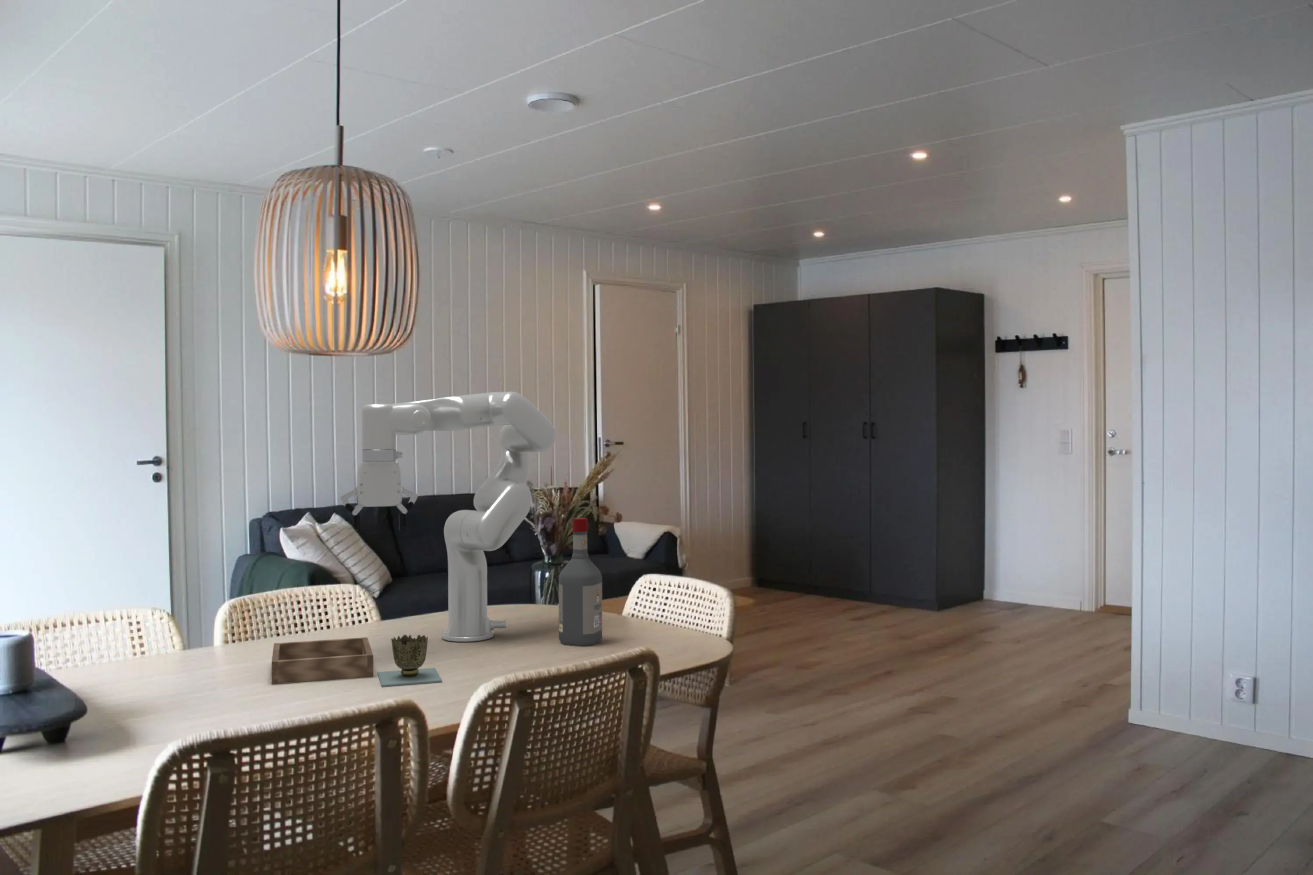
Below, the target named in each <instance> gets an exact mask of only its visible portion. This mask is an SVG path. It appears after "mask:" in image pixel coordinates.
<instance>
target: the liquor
mask: <svg viewBox="0 0 1313 875" xmlns="http://www.w3.org/2000/svg"><path fill="white" fill-rule="evenodd" d="M588 522H589V519H588V518H586V517H577V518H576V517H575V518H572V533H573V534H572V536H573V537H572V538H573V540H572V543H573V544H572V547H573V549H572V555H571V559H570V560H569V561H568V562H567V564H566V565H565V566H564V567H563V569H562V570H561V571H560V572H559V576H558V640H559V642H560V643H561V645H562V644H563V645H564V646H576V647H587V646H594V645H596V644H599V643H600V642H601V641H602V639H603V575H602V572H601V570H600V569H599V568H598V567H597V566H596V565H595V563H594V562H593V561H592V560H591V558H589V557H590V556H589V553H588V531H589V530H588V529H589V528H588V527H589V525H588V524H589V523H588ZM599 641H600V642H599Z"/></svg>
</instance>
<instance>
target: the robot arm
mask: <svg viewBox="0 0 1313 875" xmlns="http://www.w3.org/2000/svg"><path fill="white" fill-rule="evenodd" d="M495 426H502V427H501V429H500V432H499V441H500V442H499V443H500V448H501V458H500V460H499V463H497V466H496V467H495V468H494V470H493V471H492V472H491V474H489V476H487V478H486V479H485V480H484V481H483V483H482V484H481V485H480V487H478V489H477V491H476V492H475V494H474V496H473V507H474V508H475V510H474V509H473V510H472V509H471V510H470V509H461V510H457V511H455V512H452V513H451V514H450V515H449V516H448V518H447V519H446V521H445V524H444V527H443V536H444V541H445V547H446V552H447V572H448V573H447V574H448V576H447V577H448V578H447V580H448V581H447V583H448V584H447V585H448V586H447V589H448V594H447V597H448V598H447V599H448V600H447V601H448V602H447V603H448V604H447V605H448V607H447V608H448V614H447V616H448V617H447V618H448V621H447V622H448V630H446V631H443V632H442V634H441V637H442V639H443V640H444V641H450V642H463V643H465V642H467V643H469V642H479V641H486V640H489V639H491V638H493V637H494V634H495V633H494V629H507V620H499V619H497V620H493V619H490V618H489V617H488V563H487V562H488V561H487V558H486V555H485V552H492V551H495V550H497V549H500V548H501V547H503V545H505V543H506V542H507V541H508V540H509V539H510V538H511V536H512V535H513V533H515V531H516V530H517V529H518V527H519V526H520V525H521V523H523V521H524V520H525V518H526V517H527V516H528V513H529V512H530V510H531V507H532V501H533V500H532V499H533V498H532V492H531V490H530V488H529V487H528V486H527V485H526V483H527V482H528V480H529V478H530V473H531V463H530V456H529V453H543V452H547V451H548V450H550V449H551V448H552V447H553V446H554V444H555V442H556V439H557V436H556V435H557V434H556V429H555V427H554V425H553V423H552V422H551V420H549V418H548V417H546V416H545V415H544V414H543V413H542V412H541V411H540V410H539V409H538V408H537V407H536V406H535V405H534V404H533V403H531V401H529V399H527V398H526V397H525V396H523V395H521V394H520V393H518V392H516V391H495V392H494V391H492V392H481V393H473V394H461V395H454V396H445V397H438V398H434V399H433V398H432V399H425V400H417V401H407V402H397V403H396V402H395V403H389V404H388V403H368V404H365V405H364V406H363V407H362V410H361V441H362V442H361V445H362V446H361V449H362V451H361V453H362V456H361V458H362V459H361V460H362V462H361V463H358V466H357V474H356V487H355V488H353V489H351V490H350V491H348V492H346V493H344V494H342V495H341V496H339V497H340V500H341V502H342V504H343V507H345V509H346V510H348V511H349V513H351V515H352V529H353V530H355V533H360V532H361V515H360V511H361V510H362V509H363V508H364V507H368V508H369V507H370V508H371V507H372V508H373V507H375V508H377V507H397V508H396V509H398V510H399V513H398V530H399V531H400V532H404V528H406V527H407V513H408V512H409V511H410V510H411V509H412V508H413V507H414V506H415V503H416V501H417V500H418V497H419V495H418V494H417V493H415V492H413V491H411V490H409V489H407V488H405V487H403V483H402V476H401V475H402V474H401V467H400V463H399V462H397V460H398V459H400V458H403V452H402V451H398V450H397V447H396V445H397V441H396V440H397V438H396V436H418V435H421V434H423V433H424V432H427V431H428V432H429V431H430V432H431V431H433V432H434V431H436V432H437V431H439V432H453V431H454V432H456V431H463V430H470V429H477V428H478V429H479V428H485V427H495ZM403 495H406V496H408V497H409V501H408V502H407V503H406V504H405V505H403V502H402V501H403ZM354 496H356V498H355V499H356V505H355V506H354V507H353V505H351V503H350V501H349V499H350V498H352V497H354ZM484 551H485V552H484Z"/></svg>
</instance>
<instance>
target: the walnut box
mask: <svg viewBox="0 0 1313 875" xmlns="http://www.w3.org/2000/svg"><path fill="white" fill-rule="evenodd" d="M373 653H374V652H373V650H372V648H371V644H370V641H369V638H368V637H350V638H338V639H337V638H336V639H322V640H320V639H319V640H307V641H305V640H304V641H303V640H302V641H289V642H286V641H285V642H273V648H272V656H271V685H278V684H292V683H303V682H317V681H331V680H344V679H358V678H369V677H370V678H371V677H374V654H373Z"/></svg>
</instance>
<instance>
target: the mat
mask: <svg viewBox="0 0 1313 875" xmlns="http://www.w3.org/2000/svg"><path fill="white" fill-rule="evenodd" d="M401 670H402V669H401ZM401 670H390V671H388V670H387V671H377V676H378V680H379V683H380V685H381V688H384V687H385V688H386V687H399V686H411V685H412V686H413V685H422V684H424V685H425V684H435V683H437V684H438V683H443V680H442V679H443V678H441V676H440V674H439V672H438V671H437V669H436V667H430V668H429V667H426V668H418V670H419V673H418V675H417V676H414V677H404V676H402V674H401Z"/></svg>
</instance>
